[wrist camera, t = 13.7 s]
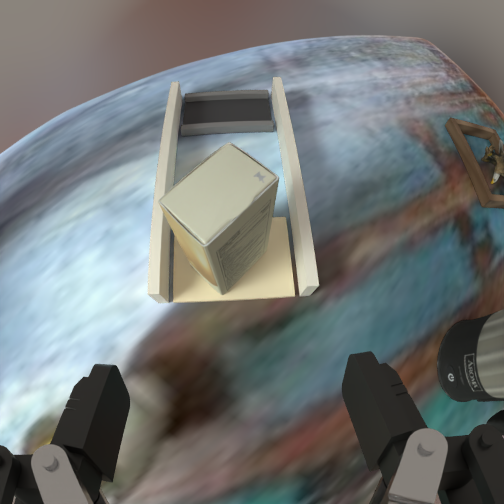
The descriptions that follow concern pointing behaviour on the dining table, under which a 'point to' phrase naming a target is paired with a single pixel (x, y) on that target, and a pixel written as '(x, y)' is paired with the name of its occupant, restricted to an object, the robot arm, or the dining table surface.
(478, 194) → the display frame
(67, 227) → the dining table surface
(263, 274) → the pad
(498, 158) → the eagle figurine
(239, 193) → the skincare box
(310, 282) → the channel
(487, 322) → the milk frother
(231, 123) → the tray
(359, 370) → the robot arm
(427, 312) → the dining table surface
